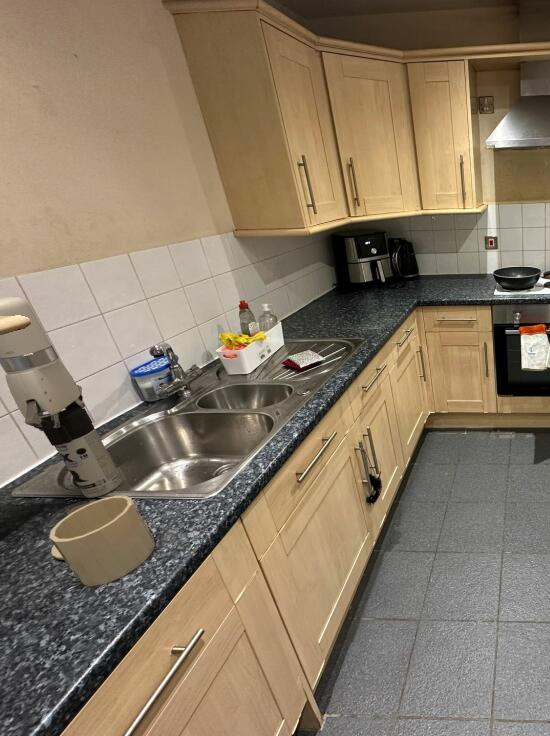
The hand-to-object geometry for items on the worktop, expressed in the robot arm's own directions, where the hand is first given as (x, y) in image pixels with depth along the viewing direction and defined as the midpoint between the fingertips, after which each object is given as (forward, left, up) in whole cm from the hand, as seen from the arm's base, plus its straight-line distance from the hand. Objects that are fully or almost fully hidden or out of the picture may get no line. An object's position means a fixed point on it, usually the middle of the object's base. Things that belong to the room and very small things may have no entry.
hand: (73, 433), depth 88 cm
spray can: (0, 0, -15) cm, 15 cm away
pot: (+14, -27, -15) cm, 34 cm away
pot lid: (+6, -18, -14) cm, 24 cm away
